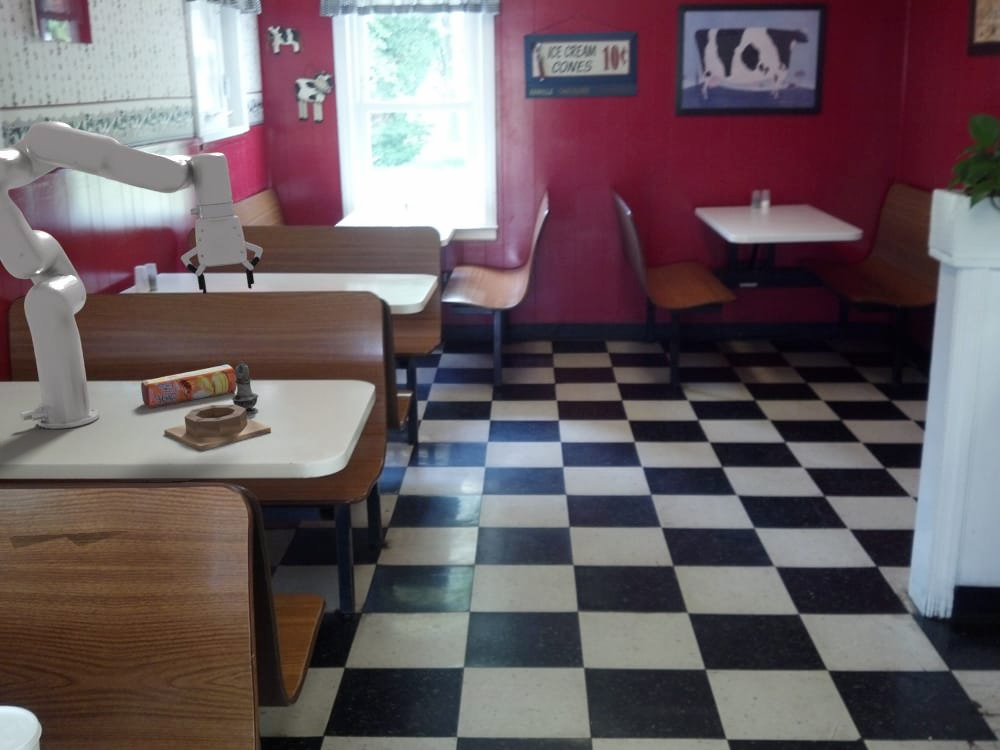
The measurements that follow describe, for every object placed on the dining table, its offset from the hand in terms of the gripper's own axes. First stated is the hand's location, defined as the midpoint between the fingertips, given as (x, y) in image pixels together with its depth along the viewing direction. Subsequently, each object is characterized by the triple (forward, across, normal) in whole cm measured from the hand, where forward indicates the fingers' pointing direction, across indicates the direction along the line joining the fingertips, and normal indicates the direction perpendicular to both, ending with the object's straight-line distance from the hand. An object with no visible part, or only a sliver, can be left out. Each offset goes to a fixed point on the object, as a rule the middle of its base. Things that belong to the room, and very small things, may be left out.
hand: (227, 290), depth 222 cm
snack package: (+28, -12, +15) cm, 34 cm away
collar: (+28, -6, -15) cm, 32 cm away
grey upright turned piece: (+28, 0, -1) cm, 28 cm away
